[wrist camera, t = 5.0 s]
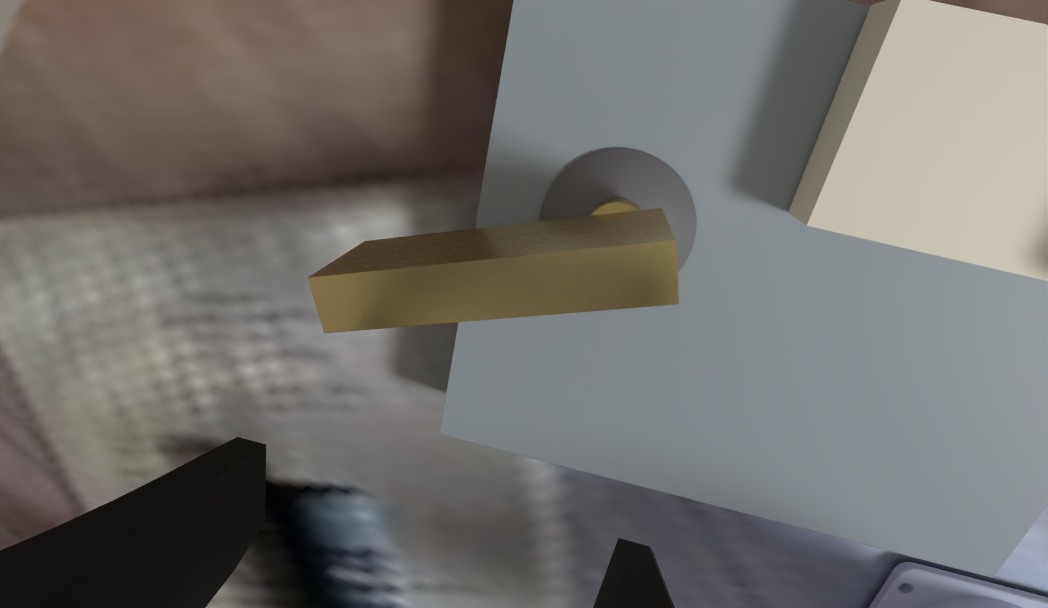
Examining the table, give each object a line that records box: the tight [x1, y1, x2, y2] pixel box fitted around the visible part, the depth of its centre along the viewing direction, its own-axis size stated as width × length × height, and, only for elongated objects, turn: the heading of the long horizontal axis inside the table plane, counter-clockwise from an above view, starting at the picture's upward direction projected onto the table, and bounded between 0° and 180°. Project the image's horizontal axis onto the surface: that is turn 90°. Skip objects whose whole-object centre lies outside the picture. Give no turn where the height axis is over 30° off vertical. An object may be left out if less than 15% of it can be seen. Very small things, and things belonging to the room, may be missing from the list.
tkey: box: [308, 198, 679, 333], centre depth 14 cm, size 8×2×4 cm, turn 98°
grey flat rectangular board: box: [439, 0, 1048, 578], centre depth 17 cm, size 15×19×3 cm
